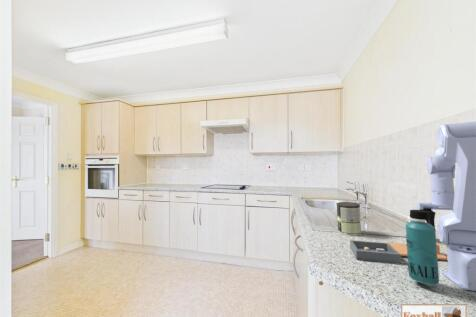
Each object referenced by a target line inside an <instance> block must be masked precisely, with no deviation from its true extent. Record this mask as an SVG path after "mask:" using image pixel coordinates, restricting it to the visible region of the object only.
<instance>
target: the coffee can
mask: <svg viewBox="0 0 476 317" xmlns="http://www.w3.org/2000/svg"><path fill="white" fill-rule="evenodd" d="M360 206H361V204H360V203H358V202H351V201H349V202H348V201H347V202H346V201H343V202H341V201H339V202H336V215H337V216H336V217H337V218H336V219H337V232H338V231H339V232H338V233H339V234H341V235H344V236H350V237H351V236H353V237H356V236H357V237H358V236H360V235H362V230H361V229H362V226H361V223H362V222H361V211H360V210H361V209H360V208H361V207H360Z"/></svg>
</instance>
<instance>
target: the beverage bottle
mask: <svg viewBox="0 0 476 317" xmlns="http://www.w3.org/2000/svg"><path fill="white" fill-rule="evenodd" d="M409 216H410V218H414V219H421V220H429V219H430V217H429V213H428V211H424V210H419V209H418V210H416V209H410V210H409ZM436 230H437V229H436V227H435V228H434V227H433V226H432V225H431V224H429V223H427V222H426V221H425V222H421V221H410V222H407V223H406V224H405V237H406V238H405V243H406V244H407V256H406V257H407V272H408V276H409V278H411V279H412V280H414V281H415V282H418V283H421V284H424V285H429V286H435V285H438V284H439V283H440V280H441V278H440V276H441V275H440V272H439V268H440V264H439V259H438V258H437V248H436V244H437V237H436V235H437V234H436Z"/></svg>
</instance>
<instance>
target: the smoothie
mask: <svg viewBox="0 0 476 317" xmlns="http://www.w3.org/2000/svg"><path fill="white" fill-rule="evenodd" d="M415 208H416V209H415V210H419V209H418V208H417V206H416V207H415ZM406 219H407V221H408V222H407V223H409V222H410V221H421V222H426V220H421V219H414V218H410V215H407V216H406Z"/></svg>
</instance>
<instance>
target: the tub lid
mask: <svg viewBox="0 0 476 317" xmlns="http://www.w3.org/2000/svg"><path fill="white" fill-rule="evenodd" d="M388 243H389V244H390V245H391V246H392V247H393V248H394V249H395V250H396V251H397V252H398V253H400V254H401V257H408V256H407V243H397V242H396V243H395V242H388ZM436 248H437V258H438V260H442V261H448V259H447V255H445V254H443V253H442V252H441V250H440V245H439V244H438V243H436Z"/></svg>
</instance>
